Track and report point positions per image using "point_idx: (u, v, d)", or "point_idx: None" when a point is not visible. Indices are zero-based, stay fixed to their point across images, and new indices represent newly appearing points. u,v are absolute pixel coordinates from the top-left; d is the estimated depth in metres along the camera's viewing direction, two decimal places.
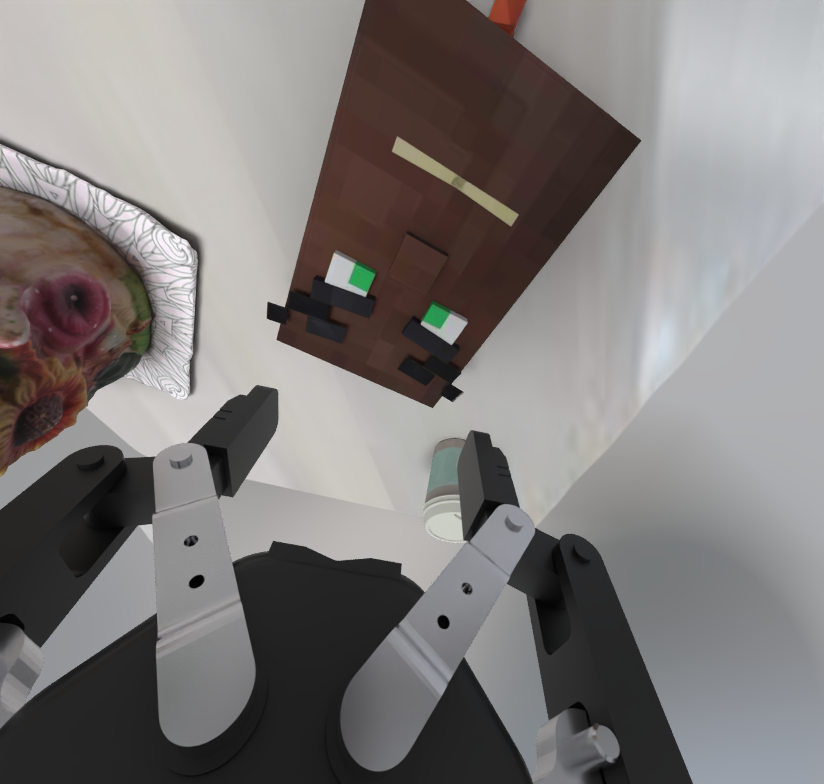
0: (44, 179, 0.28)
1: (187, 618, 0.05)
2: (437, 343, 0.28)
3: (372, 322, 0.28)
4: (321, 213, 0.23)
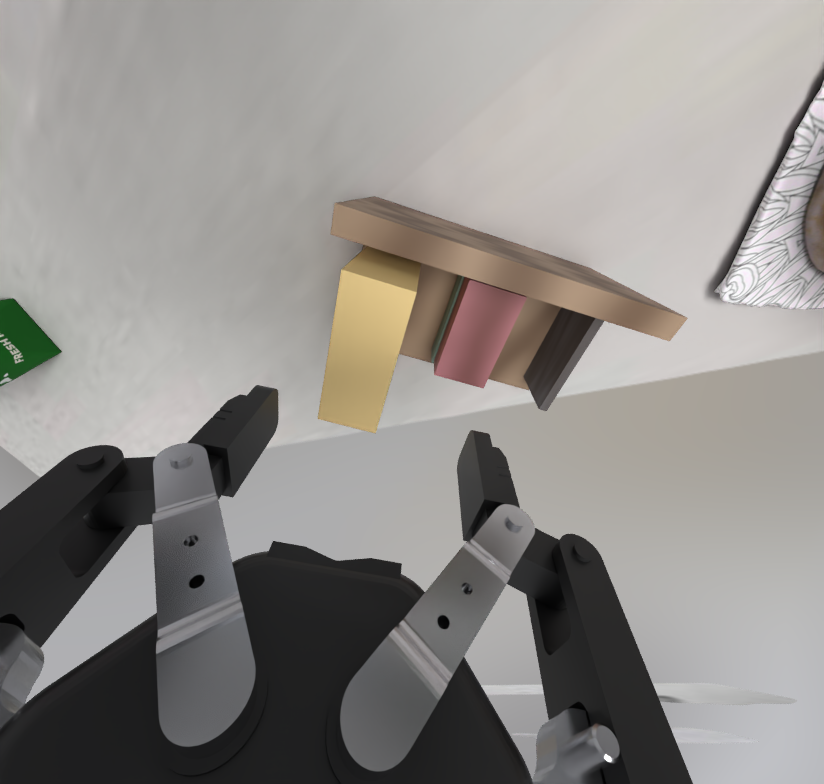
0: (806, 155, 0.26)
1: (187, 618, 0.05)
2: None
3: None
4: None
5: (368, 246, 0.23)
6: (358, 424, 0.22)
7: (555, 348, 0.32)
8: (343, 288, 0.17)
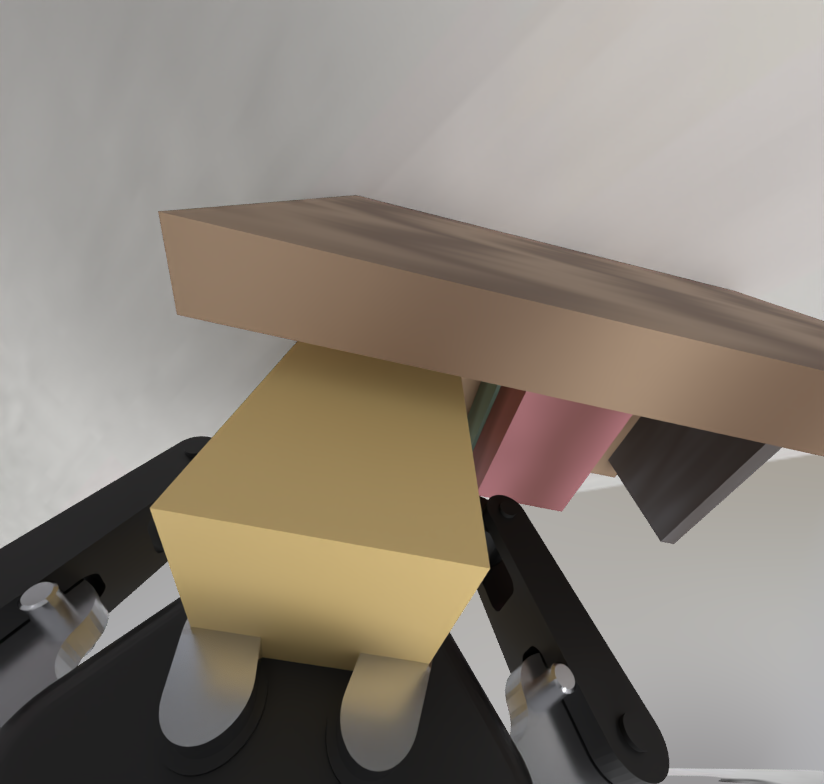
0: None
1: None
2: None
3: None
4: None
5: None
6: None
7: (683, 434, 0.18)
8: (186, 556, 0.04)
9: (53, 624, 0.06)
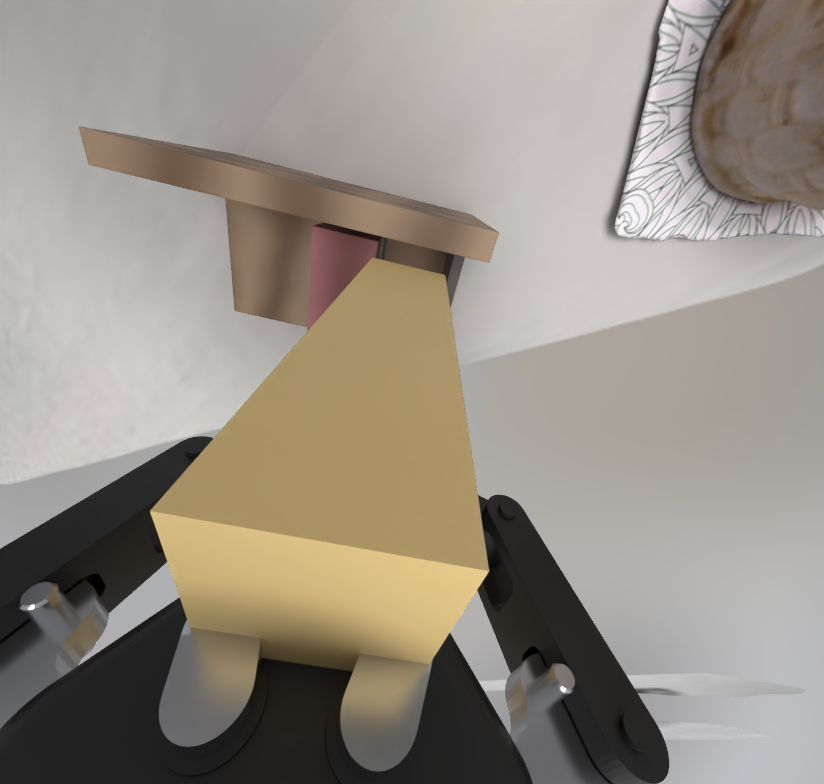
0: (676, 55, 0.23)
1: None
2: None
3: None
4: None
5: (334, 305, 0.10)
6: None
7: None
8: (186, 558, 0.04)
9: (53, 625, 0.06)
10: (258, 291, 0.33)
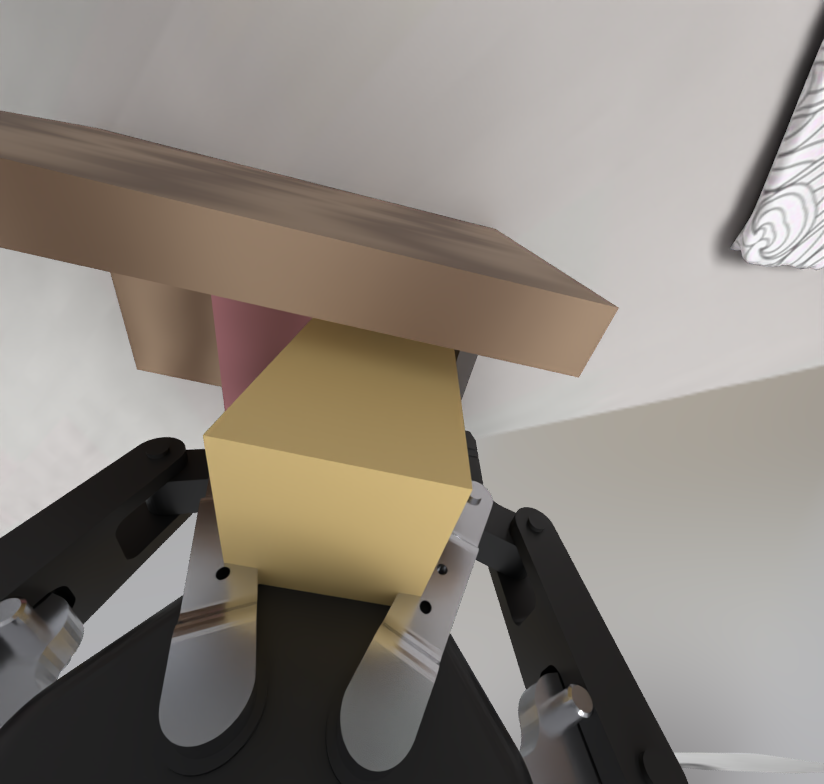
0: None
1: (206, 609, 0.06)
2: None
3: None
4: None
5: None
6: None
7: None
8: (226, 481, 0.05)
9: (25, 641, 0.06)
10: (167, 343, 0.22)
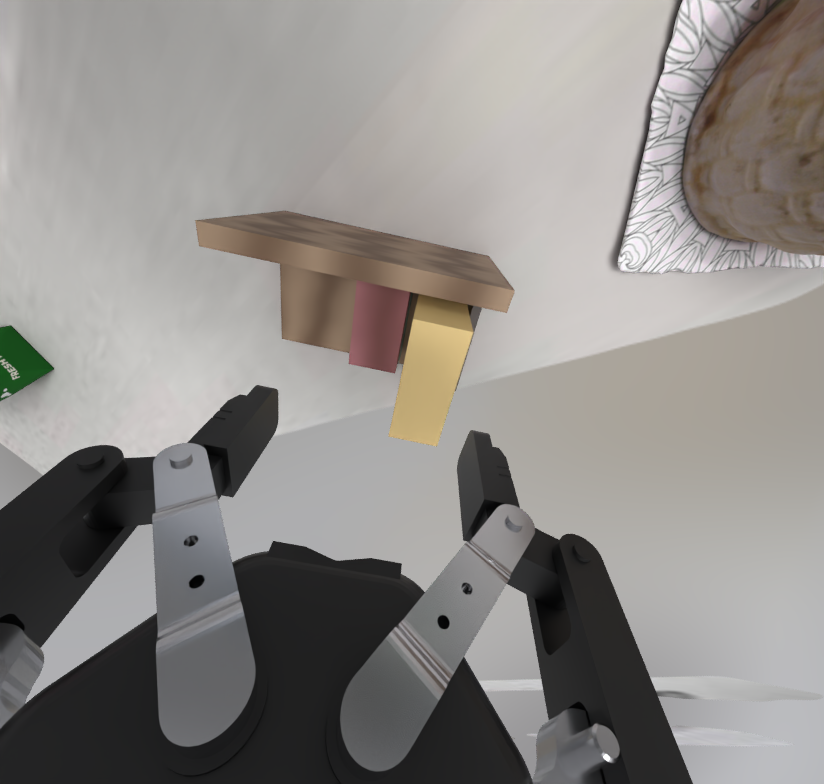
0: (666, 125, 0.27)
1: (187, 618, 0.05)
2: None
3: None
4: None
5: None
6: (422, 439, 0.26)
7: None
8: (414, 333, 0.21)
9: None
10: (303, 322, 0.39)
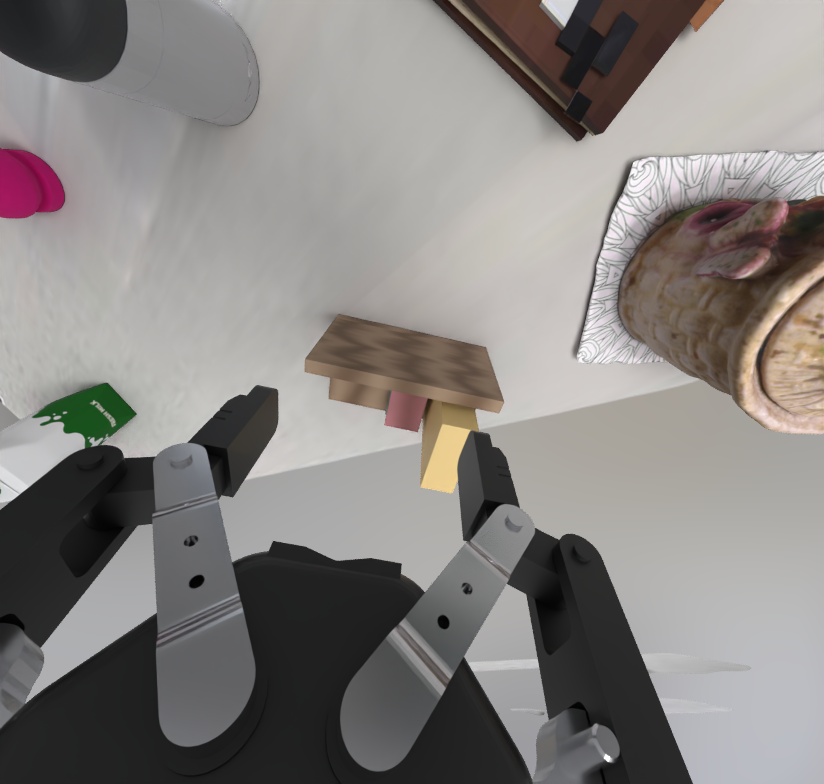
0: (606, 278, 0.41)
1: (187, 618, 0.05)
2: None
3: None
4: (505, 15, 0.26)
5: None
6: (443, 489, 0.39)
7: None
8: (442, 431, 0.34)
9: None
10: (346, 388, 0.51)
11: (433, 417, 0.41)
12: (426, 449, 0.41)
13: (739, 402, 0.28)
